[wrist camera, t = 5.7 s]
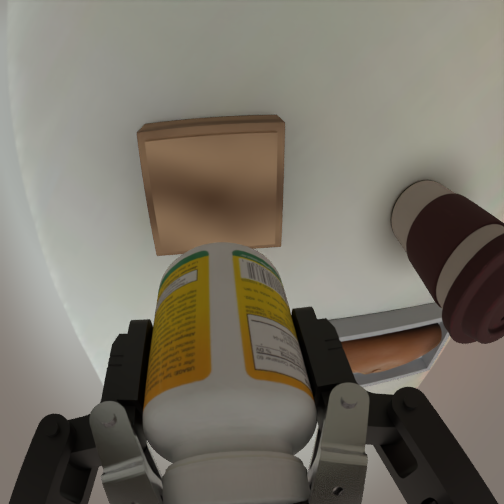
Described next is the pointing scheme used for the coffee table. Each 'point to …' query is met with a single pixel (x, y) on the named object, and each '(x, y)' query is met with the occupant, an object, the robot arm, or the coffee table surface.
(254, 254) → the supplement bottle
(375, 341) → the brown elongated piece
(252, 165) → the walnut base
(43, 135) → the coffee table surface
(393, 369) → the tray
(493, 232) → the coffee cup
